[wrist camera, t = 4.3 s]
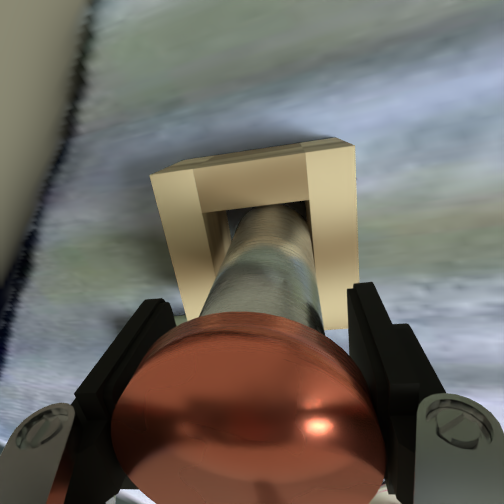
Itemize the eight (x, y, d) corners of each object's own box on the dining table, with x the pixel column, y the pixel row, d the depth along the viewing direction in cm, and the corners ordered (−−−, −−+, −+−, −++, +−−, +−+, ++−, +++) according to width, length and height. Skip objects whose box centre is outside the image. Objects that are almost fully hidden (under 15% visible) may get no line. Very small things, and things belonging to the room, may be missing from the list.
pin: (212, 195, 17) (70, 358, 6) (321, 181, 16) (388, 343, 5) (231, 288, 19) (151, 533, 8) (328, 280, 18) (385, 544, 7)
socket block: (183, 160, 22) (149, 175, 16) (335, 137, 21) (354, 145, 15) (212, 290, 26) (192, 339, 20) (343, 279, 24) (360, 327, 19)
